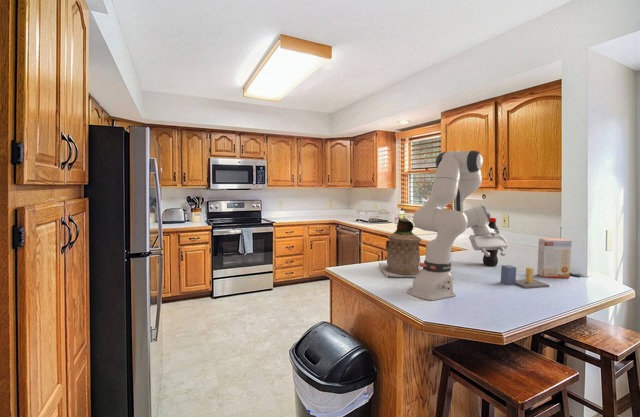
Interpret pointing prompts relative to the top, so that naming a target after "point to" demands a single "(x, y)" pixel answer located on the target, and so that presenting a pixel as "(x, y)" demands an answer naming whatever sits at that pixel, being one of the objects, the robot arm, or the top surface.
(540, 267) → the cracker box
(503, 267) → the blue rectangular block
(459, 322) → the top surface
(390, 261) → the cookie jar
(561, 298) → the top surface
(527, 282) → the marker stand
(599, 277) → the top surface
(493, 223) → the cola bottle
